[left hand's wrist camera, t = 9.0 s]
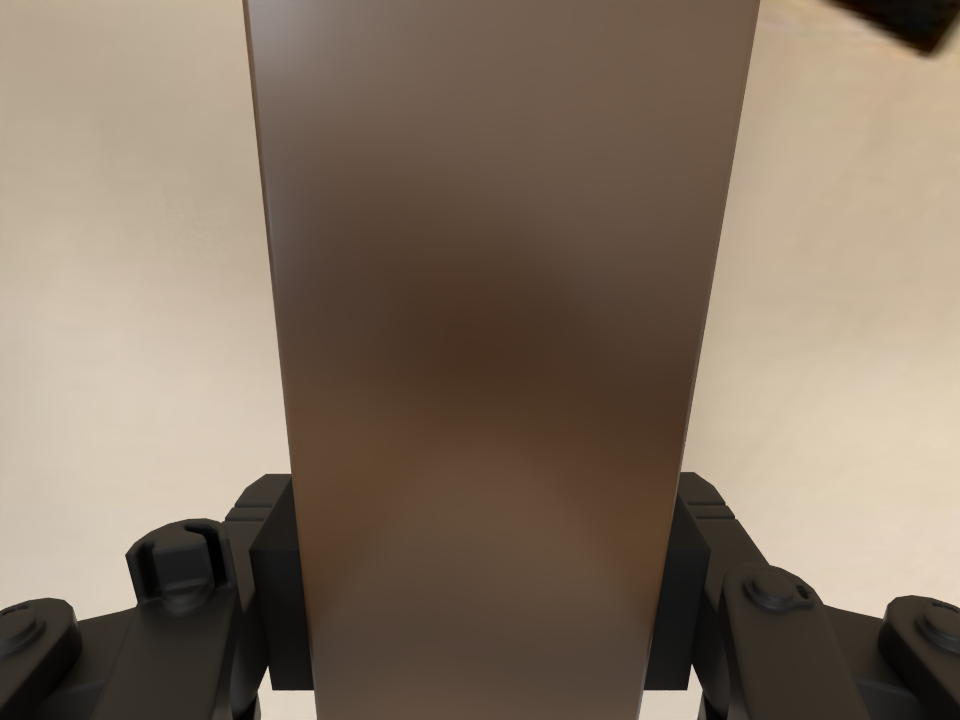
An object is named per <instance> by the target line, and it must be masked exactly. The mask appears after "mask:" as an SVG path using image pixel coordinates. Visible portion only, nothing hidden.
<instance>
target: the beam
mask: <svg viewBox="0 0 960 720" xmlns="http://www.w3.org/2000/svg"><path fill="white" fill-rule="evenodd" d="M242 3H243V13H244V22H245V32H246V42H247V51H248V61H249V70H250V80H251V89H252V99H253V109H254V118H255V128H256V137H257V147H258V157H259V166H260V176H261V185H262V195H263V205H264V214H265V224H266V233H267V243H268V253H269V262H270V272H271V281H272V291H273V301H274V310H275V320H276V329H277V339H278V349H279V358H280V368H281V377H282V387H283V397H284V406H285V416H286V425H287V435H288V445H289V454H290V464H291V473H292V483H293V493H294V502H295V512H296V521H297V531H298V541H299V550H300V560H301V569H302V579H303V589H304V598H305V608H306V617H307V627H308V637H309V646H310V656H311V665H312V675H313V684H314V694H315V704H316V713H317V720H638V719H639V713H640V707H641V701H642V695H643V690H644V684H645V678H646V672H647V666H648V660H649V654H650V648H651V642H652V636H653V630H654V625H655V619H656V613H657V607H658V601H659V595H660V589H661V583H662V577H663V571H664V566H665V560H666V554H667V548H668V542H669V536H670V530H671V524H672V518H673V512H674V506H675V501H676V495H677V489H678V483H679V477H680V471H681V465H682V459H683V453H684V447H685V441H686V436H687V430H688V424H689V418H690V412H691V406H692V400H693V394H694V388H695V382H696V377H697V371H698V365H699V359H700V353H701V347H702V341H703V335H704V329H705V323H706V317H707V312H708V306H709V300H710V294H711V288H712V282H713V276H714V270H715V264H716V258H717V252H718V247H719V241H720V235H721V229H722V223H723V217H724V211H725V205H726V199H727V193H728V188H729V182H730V176H731V170H732V164H733V158H734V152H735V146H736V140H737V134H738V128H739V123H740V117H741V111H742V105H743V99H744V93H745V87H746V81H747V75H748V69H749V63H750V58H751V52H752V46H753V40H754V34H755V28H756V22H757V16H758V10H759V4H760V0H242Z"/></svg>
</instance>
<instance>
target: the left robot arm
mask: <svg viewBox="0 0 960 720" xmlns="http://www.w3.org/2000/svg"><path fill="white" fill-rule="evenodd" d="M125 556H126V560H127V564H128V568H129V571H130V575H131V579H132V583H133V587H134V590H135V594H136V598H137V602H138V603H137V606H136V607H134V608H131V609H128V610H124V611H121V612H116V613H112V614H108V615H103V616H99V617H94V618H90V619H86V620H81V621H77V619H76V616H75V613H74V610H73V607H72V606H71V605H69V604H68V603H67V602H66V601H65V600H61V599H54V598H43V599H36V600H29V601H26V602H23V603H19V604H17V605H13V606H11V607H8V608H5V609H3V610H1V611H0V720H261V710H260V702H259V697H258V688H259V686H260V684H261V681H262V679H263V676H264V674H265V672H266V669H267V667H269V673H270V679H271V684H272V690H314V684H313V675H312V665H311V656H310V646H309V637H308V627H307V617H306V608H305V598H304V589H303V579H302V569H301V560H300V550H299V541H298V531H297V521H296V512H295V502H294V493H293V483H292V474H265V475H264V476H262V477H261V478H260V479H258V480H257V481H255V482H254V483H252V484H251V485H250V486H248V487H247V488H246V489H245V490H244V492H243V493H242V495H241V496H240V497H239V499H238V500H237V502H236V503H235V507H234V508H232V509H231V510H230V512H229V513H228V514H227V516H226V517H225V521H223V522H222V523H220V522H218V521H214V520H210V519H206V518H203V519H186V520H182V521H178V522H174V523H170V524H167V525H165V526H162V527H160V528H158V529H156V530H153V531H151V532H149V533H148V534H147V535H145V536H144V537H142V538H141V539H139V540H138V541H137V542H135V543H134V544H133V546H132V547H131V548H130V549H129V551H128V552H127V553H126V554H125ZM691 665H693V667H694V670H695V672H696V674H697V677H698V679H699V682H700V684H701V686H702V689H703V691H702V697H701V702H700V708H699V713H698V718H697V720H960V608H958V607H956V606H954V605H951V604H949V603H946V602H942V601H939V600H936V599H933V598H928V597H921V596H914V595H909V596H903V597H896V598H895V599H894V600H893V601H891V602H890V603H889V604H888V605H887V608H886V612H885V615H884V618H883V619H881V618H876V617H872V616H867V615H863V614H859V613H854V612H850V611H845V610H841V609H837V608H834V607H830V606H827V605H824V604H823V602H822V601H821V599H820V598H819V596H818V595H817V593H816V592H815V590H814V589H813V588H812V587H811V586H809V585H808V584H807V583H806V582H804V581H803V580H802V579H801V578H799V577H798V576H796V575H794V574H792V573H790V572H788V571H786V570H784V569H782V568H779V567H775V566H771V565H769V563H768V562H767V561H766V559H765V558H764V556H763V555H762V553H761V552H760V551H759V549H758V548H757V546H756V545H755V544H754V542H753V541H752V539H751V538H750V537H749V535H748V534H747V532H746V531H745V529H744V528H743V527H742V525H741V524H740V522H739V521H738V520H737V519H735V515H734V514H733V512H732V511H731V510H730V508H729V507H728V506H726V505H725V501H724V500H723V498H722V497H721V495H720V494H719V493H718V491H717V490H716V488H715V487H714V486H713V485H712V484H710V483H709V482H707V481H706V480H704V479H703V478H702V477H700V476H699V475H697V474H696V473H694V472H680V477H679V483H678V489H677V495H676V501H675V506H674V512H673V518H672V524H671V530H670V536H669V542H668V548H667V554H666V560H665V566H664V571H663V577H662V583H661V589H660V595H659V601H658V607H657V613H656V619H655V625H654V630H653V636H652V642H651V648H650V654H649V660H648V666H647V672H646V678H645V684H644V690H687V688H688V682H689V676H690V671H691Z"/></svg>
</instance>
